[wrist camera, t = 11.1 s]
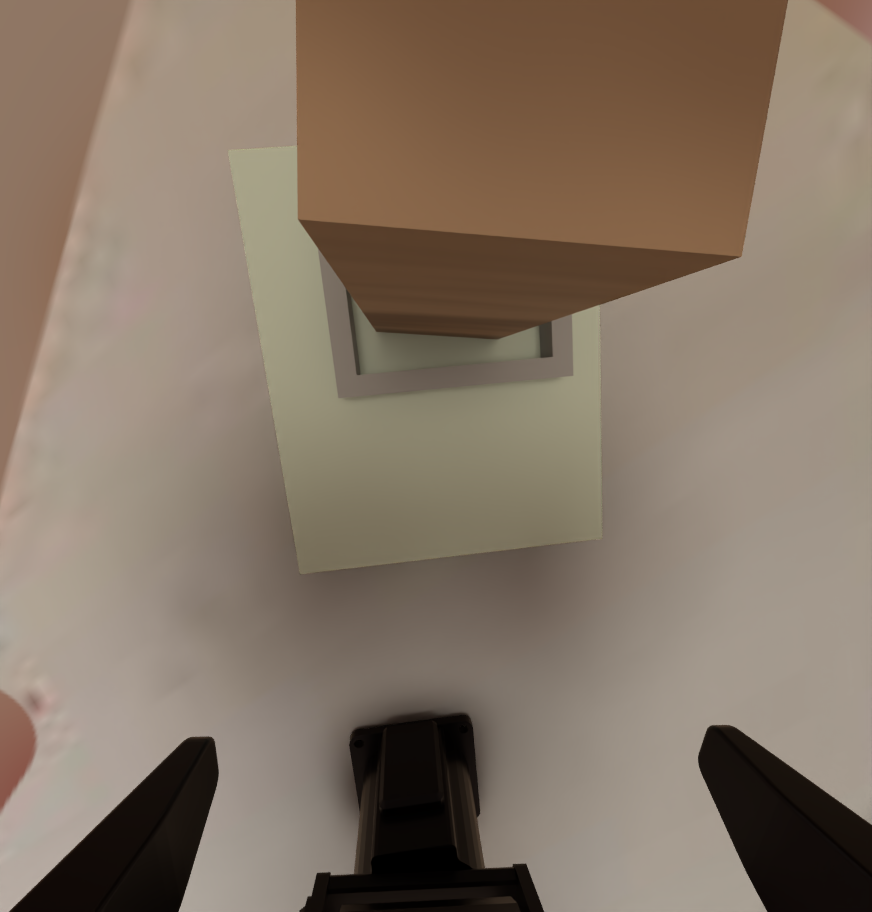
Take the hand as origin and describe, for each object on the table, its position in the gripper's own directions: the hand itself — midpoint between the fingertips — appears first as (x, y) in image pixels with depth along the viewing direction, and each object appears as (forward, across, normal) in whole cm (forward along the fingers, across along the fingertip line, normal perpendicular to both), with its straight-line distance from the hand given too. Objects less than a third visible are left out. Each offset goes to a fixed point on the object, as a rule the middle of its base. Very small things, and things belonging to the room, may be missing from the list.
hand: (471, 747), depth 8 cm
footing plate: (+14, 0, -5) cm, 15 cm away
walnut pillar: (+13, 0, -9) cm, 16 cm away
